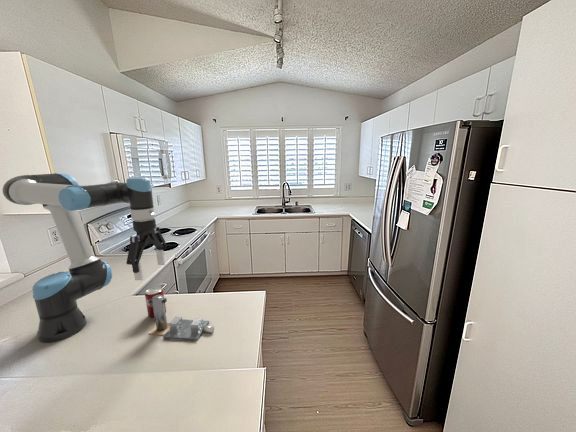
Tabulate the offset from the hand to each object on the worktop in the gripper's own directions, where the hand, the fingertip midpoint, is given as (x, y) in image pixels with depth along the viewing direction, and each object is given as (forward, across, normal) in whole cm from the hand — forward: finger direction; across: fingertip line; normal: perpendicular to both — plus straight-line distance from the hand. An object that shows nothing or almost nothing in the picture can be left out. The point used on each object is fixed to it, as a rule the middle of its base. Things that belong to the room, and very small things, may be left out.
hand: (151, 271), depth 99 cm
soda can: (+25, +9, +6) cm, 28 cm away
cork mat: (+25, -1, -2) cm, 25 cm away
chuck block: (+25, -1, -15) cm, 29 cm away
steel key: (+25, -1, -2) cm, 25 cm away
